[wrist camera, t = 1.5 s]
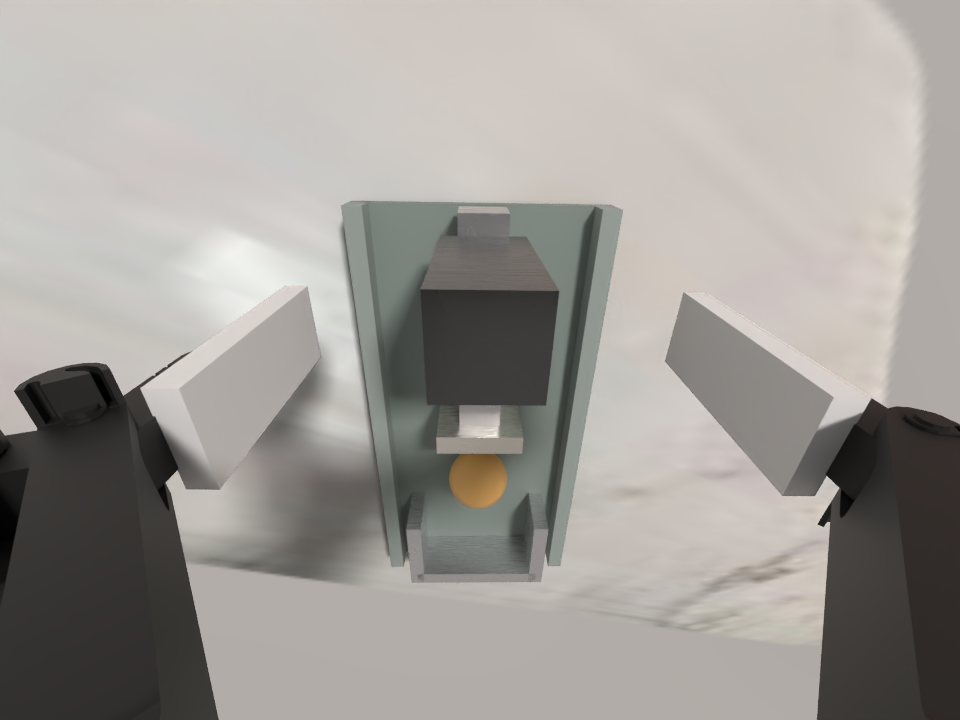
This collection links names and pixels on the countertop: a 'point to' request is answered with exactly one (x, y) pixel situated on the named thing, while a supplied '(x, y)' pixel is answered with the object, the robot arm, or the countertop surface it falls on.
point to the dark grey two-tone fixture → (486, 333)
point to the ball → (478, 479)
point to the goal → (477, 549)
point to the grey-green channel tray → (401, 370)
